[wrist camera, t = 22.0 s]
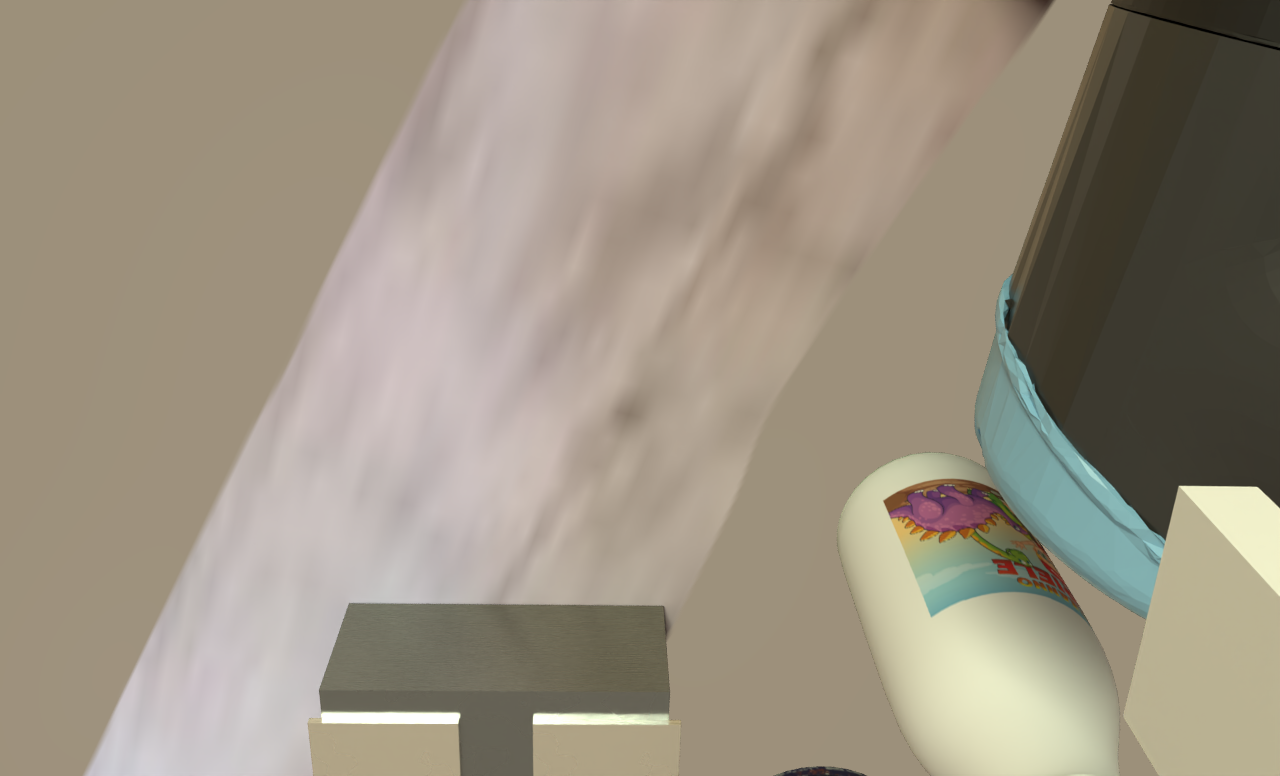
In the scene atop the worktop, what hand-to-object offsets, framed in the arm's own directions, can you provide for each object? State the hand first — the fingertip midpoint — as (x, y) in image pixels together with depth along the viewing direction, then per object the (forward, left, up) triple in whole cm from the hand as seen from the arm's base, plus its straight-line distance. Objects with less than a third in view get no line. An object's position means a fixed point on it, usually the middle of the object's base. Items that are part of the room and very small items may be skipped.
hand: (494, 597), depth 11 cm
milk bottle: (-15, +20, -35) cm, 43 cm away
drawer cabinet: (+3, +28, -35) cm, 45 cm away
